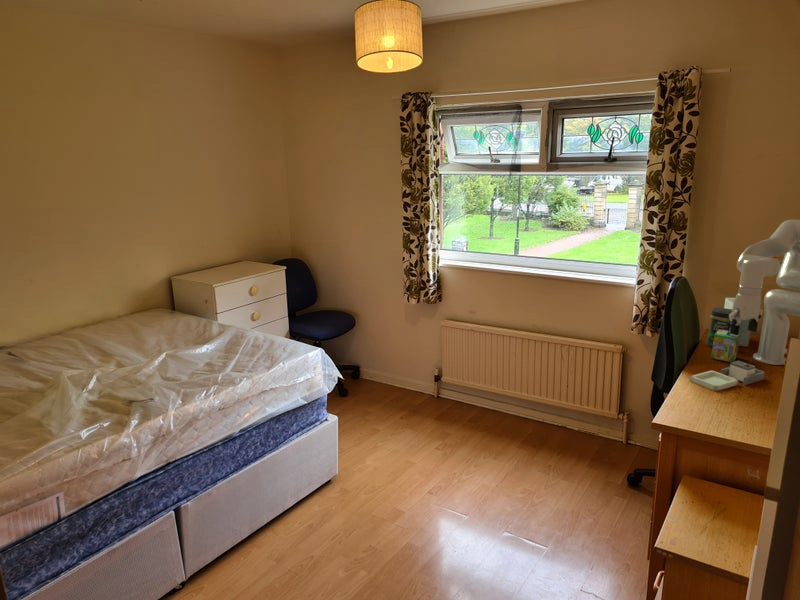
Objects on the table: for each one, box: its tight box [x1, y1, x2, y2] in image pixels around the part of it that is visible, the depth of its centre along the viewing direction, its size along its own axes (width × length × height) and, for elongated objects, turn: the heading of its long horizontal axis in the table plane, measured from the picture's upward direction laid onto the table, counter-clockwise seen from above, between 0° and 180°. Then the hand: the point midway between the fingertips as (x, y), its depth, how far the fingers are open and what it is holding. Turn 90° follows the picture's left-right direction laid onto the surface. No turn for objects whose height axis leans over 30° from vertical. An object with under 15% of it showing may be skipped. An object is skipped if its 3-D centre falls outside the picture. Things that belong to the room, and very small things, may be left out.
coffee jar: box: [706, 306, 732, 348], centre depth 254 cm, size 10×8×19 cm
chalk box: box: [710, 328, 741, 363], centre depth 240 cm, size 9×9×15 cm
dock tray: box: [689, 370, 740, 392], centre depth 216 cm, size 13×11×2 cm
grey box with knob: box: [728, 360, 757, 382], centre depth 219 cm, size 5×7×7 cm
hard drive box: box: [723, 297, 752, 347], centre depth 260 cm, size 16×8×20 cm, turn 168°
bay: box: [720, 366, 766, 386], centre depth 220 cm, size 13×10×3 cm
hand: (743, 332), depth 215 cm, fingers open, 9 cm apart
